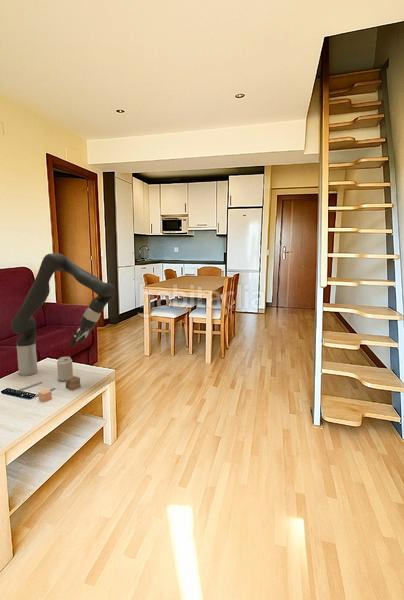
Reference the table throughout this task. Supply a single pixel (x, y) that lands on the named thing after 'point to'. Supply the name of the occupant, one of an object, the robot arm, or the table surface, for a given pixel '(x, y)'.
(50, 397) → the clay block
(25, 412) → the table surface
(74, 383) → the walnut block
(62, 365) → the can
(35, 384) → the frame
